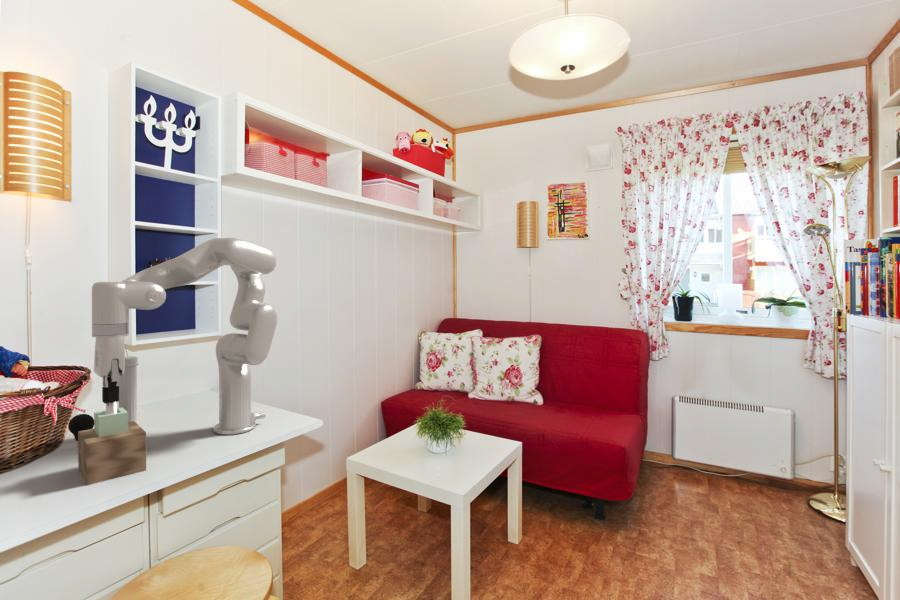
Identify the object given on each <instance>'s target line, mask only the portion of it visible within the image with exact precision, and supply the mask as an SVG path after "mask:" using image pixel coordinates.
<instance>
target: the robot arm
mask: <svg viewBox="0 0 900 600" xmlns="http://www.w3.org/2000/svg"><path fill="white" fill-rule="evenodd" d="M223 266H230V269H231V270H232V271H233V273H234V275H235V277H236V279H237V283H238V286H237V288H238V289H237V292H236V296H235V299H234V302H233V305H232V309H231V312H230V316H229V323H230V325H231V326H232V327H233V328H234V329H236V330H240V331H246V332H247V334H246V333H245V334H244V333H236V332H235V333H234V332H233V333H227V334H224V335H223V336H221V337H220V338H218V340H217V342H216V346H215V355H216V356H215V357H216V361H217V365H218V423H217V424H215V425H214V426H213V432H214V433H215V434H218V435H237V434H243V433H248V432H250V431H251V430H254V429H255V428H256V426H257V423H256V421H257V420H261V419H265V418H266V413H265V412H252V411H251V410H252V408H251V407H252V404H251V403H252V372H251V369H250V366H257V365H260V364H262V363H263V362H264V361H265V360H266V359H267V357H268V355H269V352H270V349H271V346H272V342H273V339H274V335H275V332H276V328H277V323H278V316H277V312H276V310H275V308H274V307H273V306H272V305H271V304H268V303H264V299H265V294H266V286H265V282H264V280H263V277H262V275H263V276H264V275H268V274H270V273H272V272H273V271H274V270H275V268H276V267H277V258H276V256H275V253H273V252H272V251H271V250H270V249H268V248H266V247H264V246H260V245H258V244H254V243H251V242H248V241H246V240H244V239H243V240H242V239H239V238H236V237H216V238H215V237H214V238H211V239H208V240H206V241H204V242H202V243H201V244H199V245H197V246H195V247H193V248H192V249H190V250H188V251H186V252H184V253H182V254H180V255H178V256H177V257H174V258H171V259H168V260H166V261H164V262H161V263H159V264H155V265H152V266H150V267H148V268H145V269H143V270H140V271H139V272H136V273H135V274H133V275H130V276H129V277H127V278H125V279H124V280H122V281H97V282H94V283H93V284H92V287H91V338H95V344H94V362H93V363H94V364H93V371H94V373H95V374H96V375H97V376H98V377H100V378H102V387H101V392H102V393H101V396H102V397H101V398H102V399H101V400H102V403H103V404H106V403H112V402H118V403H119V375H123V374H124V371H125V357H126V349H125V347H126V346H124V345H126V344H125V337H128V336H130V309H131V310H132V309H133V310H146V311H150V310H151V311H152V310H155V309H158V308H159V307H161V306H162V305H163V304H164V303H165V302H166V300H167V299H166V298H167V293H166V290H168V289H171V288H176V287H182V286H186V285H189V284H193V283H196V282H198V281H199V280H201V279H203V278H205V277H206V276H207V275H209V274H210V273H212V272H214V271H216V270H217V269H219V268H221V267H223Z"/></svg>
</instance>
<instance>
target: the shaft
mask: <svg viewBox="0 0 900 600" xmlns="http://www.w3.org/2000/svg"><path fill="white" fill-rule="evenodd" d="M118 408H119V401H118V402H112V403H105V410H106V415H108V414H114V413H118Z"/></svg>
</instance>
